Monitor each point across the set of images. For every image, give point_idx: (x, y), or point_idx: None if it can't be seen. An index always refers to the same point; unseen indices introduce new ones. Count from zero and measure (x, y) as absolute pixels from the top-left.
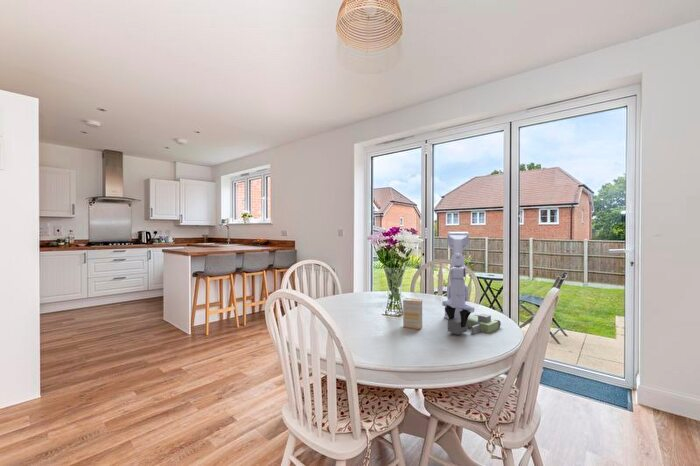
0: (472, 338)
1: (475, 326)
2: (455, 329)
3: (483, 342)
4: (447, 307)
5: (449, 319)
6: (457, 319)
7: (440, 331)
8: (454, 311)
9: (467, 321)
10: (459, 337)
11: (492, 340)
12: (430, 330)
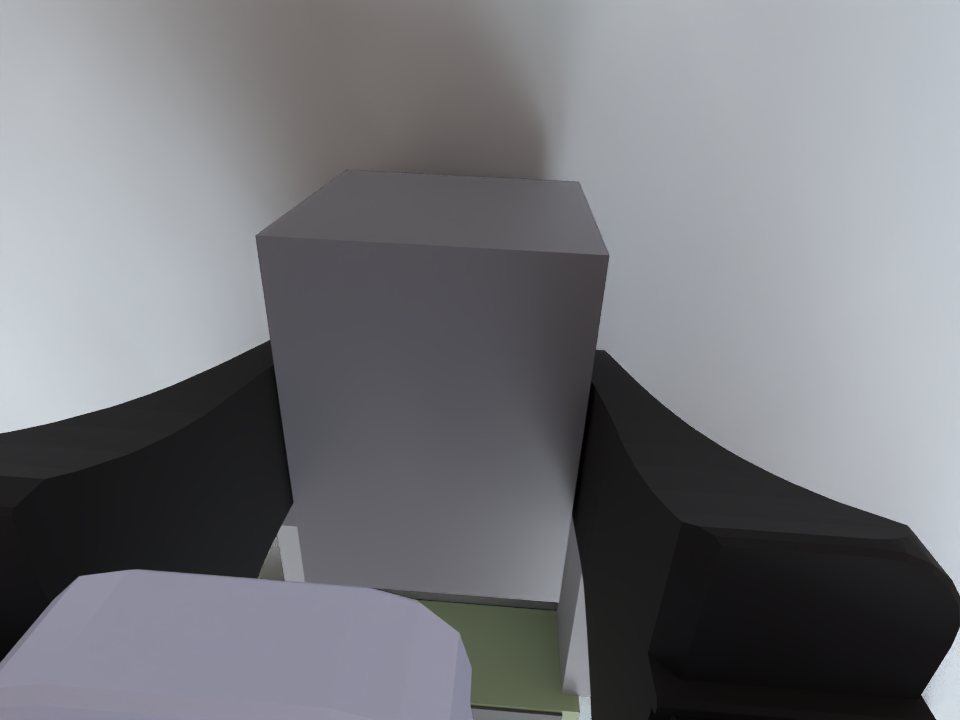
0: (201, 296)
1: (283, 571)
2: (381, 191)
3: (7, 265)
4: (852, 708)
5: (595, 336)
6: (445, 469)
7: (744, 195)
8: (595, 684)
9: (509, 681)
10: None
11: (24, 417)
12: (946, 88)
